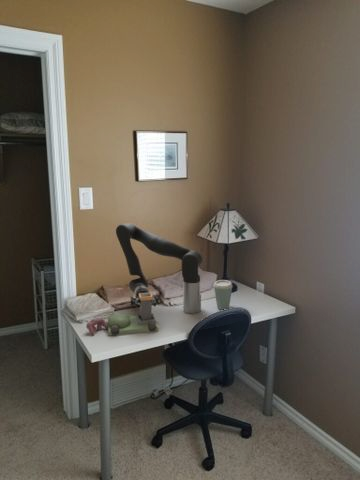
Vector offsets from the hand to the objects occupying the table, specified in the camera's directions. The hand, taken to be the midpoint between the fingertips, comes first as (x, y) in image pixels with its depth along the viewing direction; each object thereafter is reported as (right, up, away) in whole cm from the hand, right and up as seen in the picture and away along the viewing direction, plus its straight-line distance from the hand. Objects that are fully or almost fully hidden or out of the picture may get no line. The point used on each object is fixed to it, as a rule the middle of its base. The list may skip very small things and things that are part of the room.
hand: (146, 305), depth 194 cm
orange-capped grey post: (0, -9, +4) cm, 9 cm away
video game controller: (-24, -12, -2) cm, 27 cm away
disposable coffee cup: (+41, -6, +26) cm, 49 cm away
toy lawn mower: (-7, -11, +3) cm, 13 cm away
